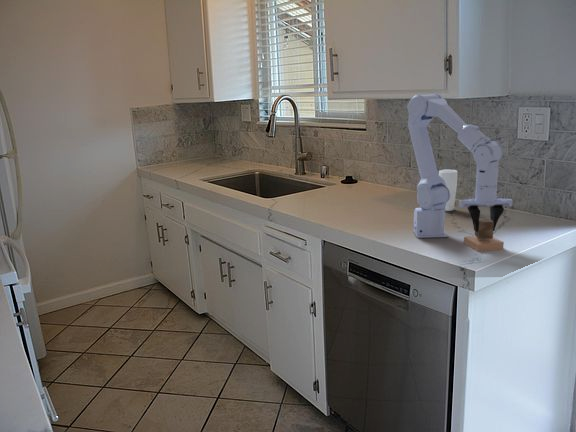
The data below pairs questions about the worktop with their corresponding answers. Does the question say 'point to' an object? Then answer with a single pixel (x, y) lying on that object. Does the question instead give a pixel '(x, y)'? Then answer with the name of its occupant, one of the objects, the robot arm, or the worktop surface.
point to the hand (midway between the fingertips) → (483, 230)
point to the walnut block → (485, 229)
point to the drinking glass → (450, 186)
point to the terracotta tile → (483, 243)
